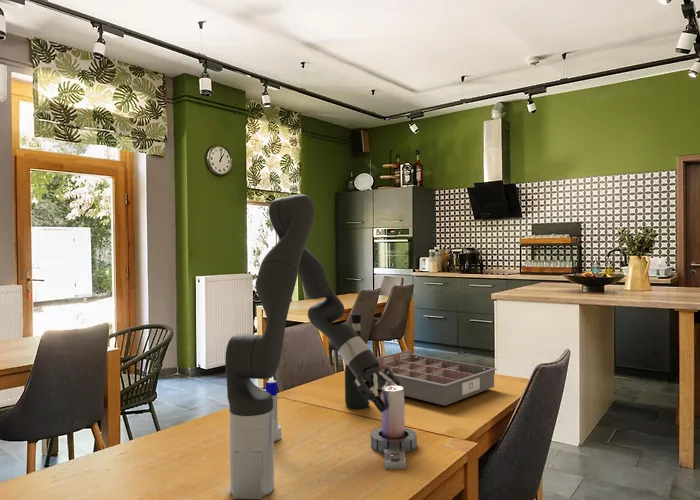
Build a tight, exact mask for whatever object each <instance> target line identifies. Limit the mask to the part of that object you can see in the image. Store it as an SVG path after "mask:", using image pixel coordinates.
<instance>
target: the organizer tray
mask: <svg viewBox="0 0 700 500" xmlns="http://www.w3.org/2000/svg"><path fill="white" fill-rule="evenodd" d="M376 358H377V360H378V361H379V364H378V367H379V368H380V369H381V370H382V371H383V370H384V369H385V368H386V367H388V368H389V369H390V370H391V372H392V373H393V374H394V375H395V377H396V378H397V379H398V380H399V382H400V385H399V386H401V387H403V391H404V397H409V398H413V399H415V400H416V399H417V400H421V401H425V402H429V403H432V404H437V405H441V406H447V405H451V404H453V403H455V402H458V401H460V400H464V399H466V398H469V397H472V396H474V395H477V394H479V393H481V392H484V391H487V390H489V389H493V388H495V371H496V370H497V368H495V367H491V366H489V367H488V366H484V365H479V364H478V365H477V364H471V363H466V362H460V361H455V360H454V361H453V360H449V359H443V358H437V357H431V356H426V355H421V354H414V353H412V349H408V350H405V351H400V352H395V353H391V354H386V355H383V356H379V357H376ZM385 382H387V381H385ZM392 382H393V383H395V382H394V380H392ZM379 390H380V391H382V388H381V389H379Z"/></svg>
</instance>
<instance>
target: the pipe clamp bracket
mask: <svg viewBox="0 0 700 500" xmlns="http://www.w3.org/2000/svg"><path fill="white" fill-rule="evenodd" d="M417 436H418V435H417V432H416V431H415V430H413V429H412V428H409V427H405V438H403V439H386V438H382V426H381V427H377V428H375V429H373V430H372V431H370V447H371V449H372V450H374V451H375V452H378V453H381V454H384V455H383V457H384V469H388V470H390V469H391V470H406V469H407V459H406V454H408V453H411V452H412V453H413V451H415V450H416V449H417V447H418V444H417V443H418V442H417V440H418V438H417Z"/></svg>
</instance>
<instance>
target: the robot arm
mask: <svg viewBox="0 0 700 500" xmlns="http://www.w3.org/2000/svg"><path fill="white" fill-rule="evenodd" d="M268 215H269V216H268V217H269V221H270V222H271V226H272V228H273V229H274V232H275V233H276V235H277V237H278V239H279V240H278V242H277V243H275V245H273V247H272V248H271V249H270V250H269V251H268V252H267V253H266V255H265V256H264V258H263V259H262V261H261V264H260V266H259V269H258V273H257V277H256V280H255V284H254V285H255V286H254V287H255V291H256V294H257V297H258V299H259V301H260V304H261V306H262V308H263V310H264V314H265V317H266V326H265V330H264V333H263V334H235V335H233V336H232V337H230V338H229V340H228V341H227V342H228V343H227V344H226V349H225V374H226V375H225V376H226V389H227V391H226V396H227V401H228V403H229V404H228V405H229V457H230V458H229V461H230V462H229V465H230V466H229V468H230V470H229V471H230V472H229V474H230V477H229V478H230V493H231V496H232V499H235V500H238V499H239V500H241V499H242V500H262V499H263V498H264V497H265V496H267V495H270V494H271V493H272V492H273V490H274V489H275V469H274V468H275V466H274V465H275V460H274V459H275V458H274V455H275V453H274V452H275V451H274V446H275V445H274V444H275V443H274V441H273V397H272V395H271V394H270V393H268V392H266V390H264V389H262V388H260V387H258V386H257V385H255V384H254V382H253V381H252V380H251V379H254V380H256V379H257V380H269V379H272V378H273V377H274V376H275V375H276V373H277V371H278V368H279V365H280V361H281V355H282V351H283V343H284V337H285V330H286V324H287V319H288V314H289V310H290V306H291V302H292V298H293V294H294V290H295V288H296V282H297V280H298V275H299V278H300V281H301V283H302V286H303V288H304V290H305V294H306V295H307V297H308V298H309V299H312V300H317V299H323V300H321V301H319V302H317V303H315V304H313V305H311V306H310V307H309V308H308V310H307V318H308V321H309V322H310V323H311V325H312V326H314V327H315V328H316V329H317V330H318V331H320V332H321V333H323V335H324V336H326V338H328V339H329V340H330V341H331V342H332V343H333V345H334V346H335V348H336V350H337V351H338V352H339V354H340V356H341V358H342V359H343V361H344V362H345V365H346V364H347V365H348V367H349V368H350V370H351V371H352V372H353V374H354V375H355V377H356V378H357V379H356V380H355V381H354V385H355V386H356V388H357V390H358V391H359V393H360V394H361V396H362V397H363V399H364V400H365V401H367V400H370V402H371V403H373V404H374V406H375V408H376V409H377V410H378V411H379V412H380V413H381V414H382V412H384V411H385V410H386V409H387V406H386V405H385V403H384V402H383V400H382V399H381V396H380V395H379V393H378V390H380V389H381V388H382V387H384V386H389V385H395V386H399V385H400V382H399V380H398V379H397V378H396V377H395V375H394V374H393V373H392V372H391V370H390V369H389V368H388V367H386V368H385V369H384V370H383V371H382V370H381V369H380V368H379V367H378V364H379V361H378V360H377V358H378V357H376V356H375V354H374V353H373V351H372V350H371V349H370V347H368V345H367V343H366V342H365V341H364V340H363V339H362V337H361V338H360V337H359V336H358V334H357V333H356V331H355V330H354V329H353V327H352V325H351V324H350V323H349V322H341V323H337V324H333V323H334V322H336V321H338V320H340V319H341V318H342V317H343V316H344V314H345V305H344V304H343V302H342V301H341V299H340V298H339V297H338V296H337V294H336V292H335V291H334V290H333V288H332V286H331V284H330V283H329V279H328V276H327V274H326V271H325V268H324V266H323V265H322V263H321V261H320V260H319V259H318V258H317V257H316V256H315V255H314V254H313V253H312V252H311V251H310V250H309V249H308V248H307V247H305V246H306V244H307V241H308V239H309V236H310V233H311V230H312V228H313V224H314V221H315V205H314V202H313V199H312V198H311V197H310V196H309V195H308V194H294V195H290V196H285V197H279V198H274V199H273V200H272V201H271V202H270V204H269V207H268ZM392 380H394V382H395V383H393V382H392ZM385 381H387V382H385ZM364 390H365V391H366V393H367V394H365V392H364ZM404 402H406V398H405V397H404Z"/></svg>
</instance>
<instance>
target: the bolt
mask: <svg viewBox="0 0 700 500" xmlns="http://www.w3.org/2000/svg"><path fill="white" fill-rule="evenodd" d="M265 391H266V392H268V393H270V394H271V395H272V397H273V442H277V441H279V440H281V438H282V425H280V424H278V423H279V422H278V421H279V420H278V419H279V418H278V415H279V413H278V381H277V380H275V379H271V380H269V379H268V380H267V381H266V382H265Z"/></svg>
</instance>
